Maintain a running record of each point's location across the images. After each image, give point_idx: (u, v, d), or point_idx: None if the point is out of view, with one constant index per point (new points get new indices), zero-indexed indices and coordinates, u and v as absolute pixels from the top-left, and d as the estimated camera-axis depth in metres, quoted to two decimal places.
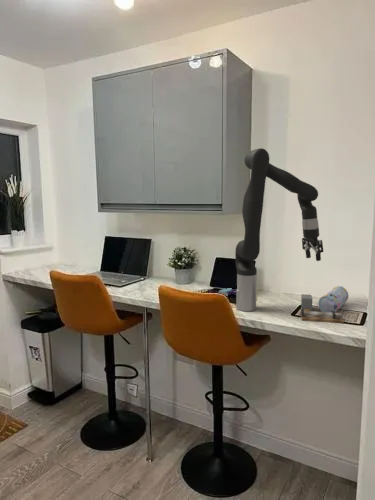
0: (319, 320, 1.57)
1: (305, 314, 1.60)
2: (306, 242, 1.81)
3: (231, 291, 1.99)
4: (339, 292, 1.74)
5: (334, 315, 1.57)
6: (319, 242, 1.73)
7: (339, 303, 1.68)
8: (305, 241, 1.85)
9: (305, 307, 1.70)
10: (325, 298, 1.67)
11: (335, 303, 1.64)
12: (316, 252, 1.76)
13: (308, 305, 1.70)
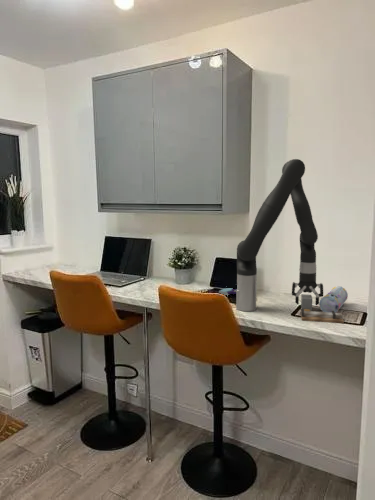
0: (319, 320, 1.57)
1: (305, 314, 1.60)
2: (304, 287, 1.71)
3: (231, 291, 2.00)
4: (339, 292, 1.74)
5: (334, 315, 1.57)
6: (322, 285, 1.70)
7: (340, 303, 1.68)
8: (296, 286, 1.73)
9: (305, 307, 1.70)
10: (326, 298, 1.66)
11: (336, 303, 1.64)
12: (318, 296, 1.71)
13: (308, 305, 1.70)
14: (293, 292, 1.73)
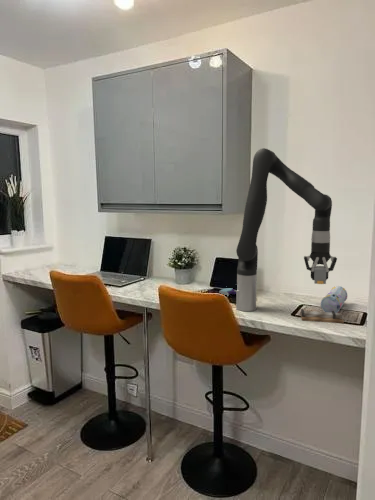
0: (319, 320, 1.57)
1: (305, 314, 1.60)
2: (316, 259, 1.56)
3: (232, 291, 2.00)
4: (339, 292, 1.74)
5: (334, 315, 1.57)
6: None
7: (341, 303, 1.68)
8: None
9: (318, 278, 1.55)
10: (328, 298, 1.66)
11: (338, 303, 1.64)
12: (327, 270, 1.56)
13: (321, 277, 1.55)
14: (308, 266, 1.58)
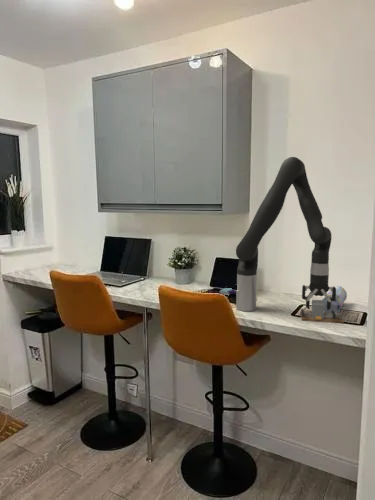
0: (319, 320, 1.57)
1: (305, 314, 1.60)
2: (315, 290, 1.58)
3: (232, 290, 2.00)
4: (339, 292, 1.74)
5: (334, 315, 1.57)
6: (335, 289, 1.57)
7: (341, 303, 1.68)
8: None
9: (316, 314, 1.57)
10: None
11: (338, 303, 1.64)
12: (330, 300, 1.58)
13: (319, 312, 1.57)
14: (303, 296, 1.60)
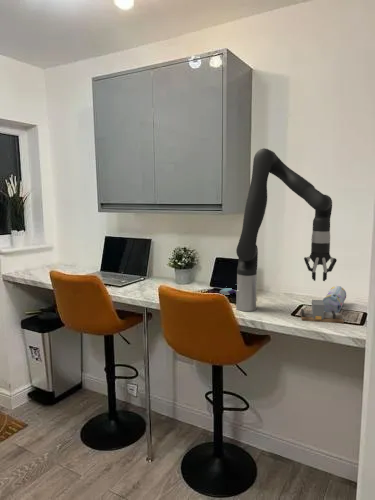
0: (319, 320, 1.57)
1: (305, 314, 1.60)
2: (316, 259, 1.56)
3: (232, 290, 2.01)
4: (339, 292, 1.74)
5: (334, 315, 1.57)
6: (335, 261, 1.55)
7: (341, 303, 1.68)
8: (309, 260, 1.58)
9: (316, 314, 1.57)
10: (328, 299, 1.66)
11: (339, 303, 1.64)
12: (326, 271, 1.56)
13: (319, 312, 1.57)
14: (309, 267, 1.58)
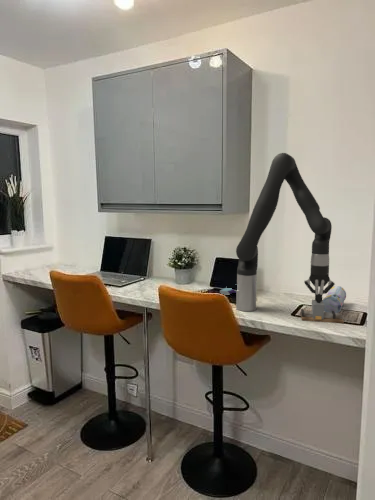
0: (319, 320, 1.57)
1: (305, 314, 1.60)
2: (316, 281, 1.57)
3: (232, 290, 2.01)
4: (339, 292, 1.74)
5: (334, 315, 1.57)
6: None
7: (341, 303, 1.68)
8: None
9: (316, 314, 1.57)
10: (329, 299, 1.66)
11: (339, 303, 1.64)
12: (321, 293, 1.58)
13: (319, 312, 1.57)
14: (311, 290, 1.59)
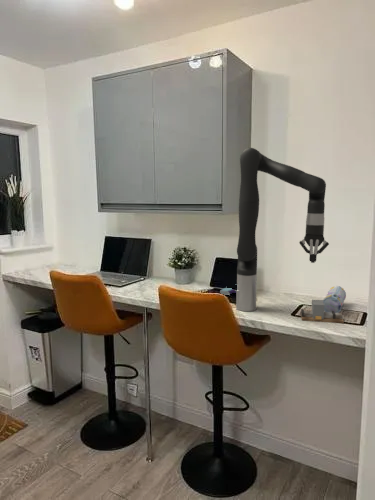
0: (319, 320, 1.57)
1: (305, 314, 1.60)
2: (310, 241, 1.59)
3: (232, 290, 2.01)
4: (339, 292, 1.74)
5: (334, 315, 1.57)
6: (327, 245, 1.59)
7: (341, 303, 1.68)
8: (304, 242, 1.62)
9: (316, 314, 1.57)
10: (329, 299, 1.66)
11: (339, 303, 1.64)
12: (315, 253, 1.60)
13: (319, 312, 1.57)
14: (306, 249, 1.61)
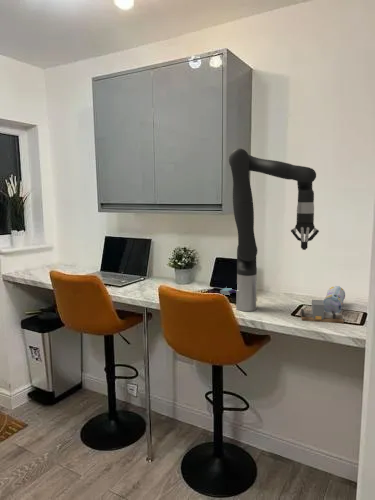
0: (319, 320, 1.57)
1: (305, 314, 1.60)
2: (301, 229, 1.67)
3: (232, 290, 2.01)
4: (339, 292, 1.74)
5: (334, 315, 1.57)
6: None
7: (342, 303, 1.68)
8: None
9: (316, 314, 1.57)
10: (329, 299, 1.65)
11: (340, 303, 1.64)
12: (306, 240, 1.67)
13: (319, 312, 1.57)
14: (297, 237, 1.68)
